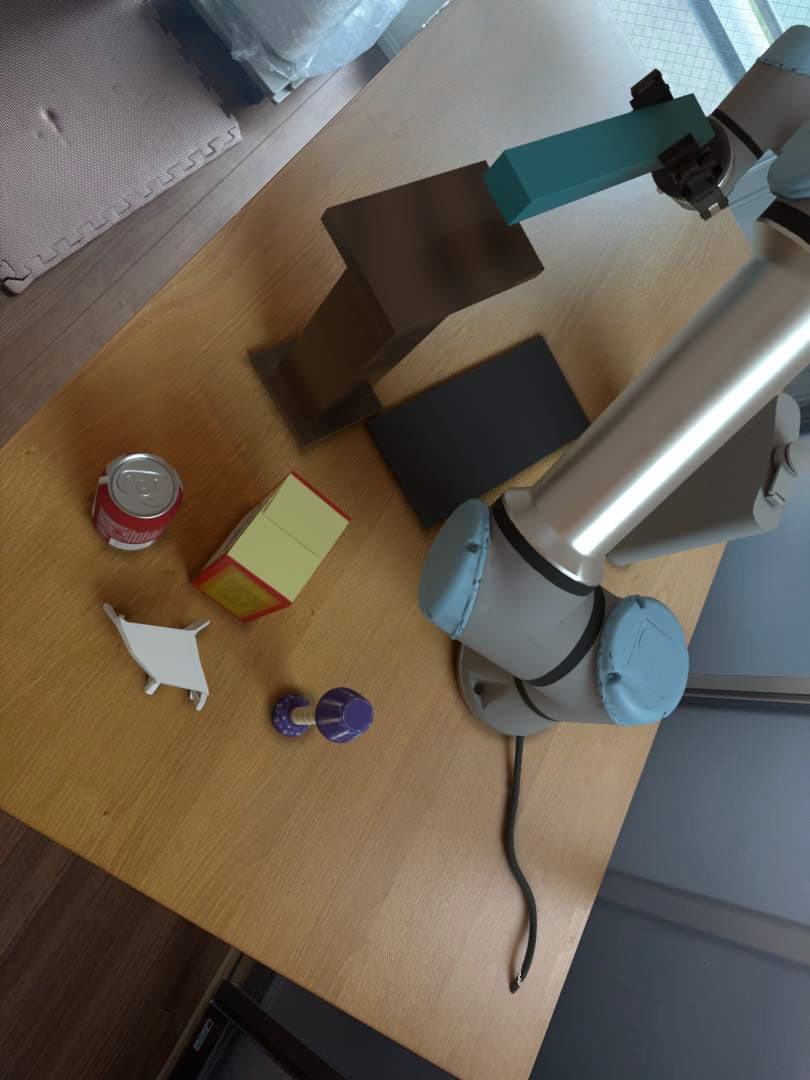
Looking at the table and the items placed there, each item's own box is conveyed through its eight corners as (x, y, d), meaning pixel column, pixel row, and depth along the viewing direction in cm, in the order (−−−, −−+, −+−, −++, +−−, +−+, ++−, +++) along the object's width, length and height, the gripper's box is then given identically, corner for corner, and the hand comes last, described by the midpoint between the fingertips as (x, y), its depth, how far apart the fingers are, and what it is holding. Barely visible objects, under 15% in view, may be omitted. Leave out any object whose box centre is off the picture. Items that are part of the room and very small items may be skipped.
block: (666, 117, 63) (693, 92, 61) (688, 158, 64) (716, 135, 61) (481, 177, 53) (503, 149, 50) (507, 226, 53) (532, 202, 50)
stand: (348, 320, 85) (482, 153, 59) (395, 403, 85) (548, 274, 59) (229, 368, 77) (322, 201, 51) (281, 458, 78) (400, 339, 52)
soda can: (155, 560, 70) (174, 535, 60) (81, 540, 68) (88, 511, 57) (174, 495, 72) (196, 460, 62) (103, 474, 70) (113, 433, 59)
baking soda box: (243, 623, 73) (291, 605, 59) (190, 584, 71) (225, 555, 57) (296, 550, 77) (353, 517, 62) (247, 511, 75) (293, 468, 61)
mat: (539, 337, 97) (542, 335, 97) (590, 429, 98) (592, 428, 97) (364, 423, 83) (366, 422, 82) (424, 530, 84) (427, 529, 83)
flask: (629, 573, 96) (802, 535, 74) (603, 556, 95) (772, 513, 73) (660, 465, 102) (828, 401, 80) (636, 448, 101) (800, 378, 79)
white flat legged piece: (232, 634, 72) (244, 630, 68) (194, 715, 69) (204, 716, 65) (116, 581, 68) (121, 573, 64) (71, 663, 65) (73, 661, 61)
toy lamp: (283, 681, 73) (342, 677, 59) (323, 699, 75) (391, 699, 60) (264, 727, 72) (320, 735, 57) (305, 744, 73) (371, 756, 58)
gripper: (696, 256, 79) (668, 248, 59) (620, 113, 78) (566, 57, 58) (766, 212, 75) (762, 188, 55) (688, 61, 74) (654, -19, 54)
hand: (661, 121), depth 56 cm, fingers closed on block, 4 cm apart
